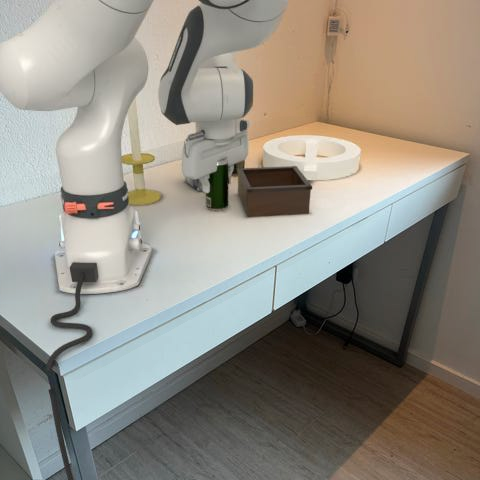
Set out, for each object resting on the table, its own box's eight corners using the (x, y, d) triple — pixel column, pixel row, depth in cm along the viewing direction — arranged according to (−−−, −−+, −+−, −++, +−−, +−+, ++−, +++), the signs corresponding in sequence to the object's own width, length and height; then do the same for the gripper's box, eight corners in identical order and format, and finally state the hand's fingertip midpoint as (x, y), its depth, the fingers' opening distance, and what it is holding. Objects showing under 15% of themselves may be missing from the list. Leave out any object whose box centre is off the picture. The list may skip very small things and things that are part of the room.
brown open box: (309, 214, 122) (312, 186, 118) (246, 217, 120) (246, 189, 116) (294, 191, 134) (296, 166, 131) (237, 194, 132) (237, 168, 129)
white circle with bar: (311, 145, 170) (312, 130, 167) (378, 167, 152) (381, 150, 149) (243, 161, 156) (243, 145, 153) (308, 187, 137) (310, 169, 135)
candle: (112, 197, 130) (96, 80, 115) (145, 188, 136) (134, 74, 121) (136, 208, 124) (123, 85, 109) (169, 197, 130) (161, 80, 115)
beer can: (216, 213, 122) (215, 162, 115) (201, 207, 125) (199, 157, 118) (233, 207, 125) (233, 157, 118) (217, 202, 128) (217, 152, 122)
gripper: (195, 138, 106) (198, 203, 114) (253, 120, 120) (252, 179, 128) (172, 133, 109) (176, 197, 117) (231, 116, 123) (232, 174, 131)
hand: (216, 187), depth 122 cm, fingers closed on beer can, 5 cm apart
